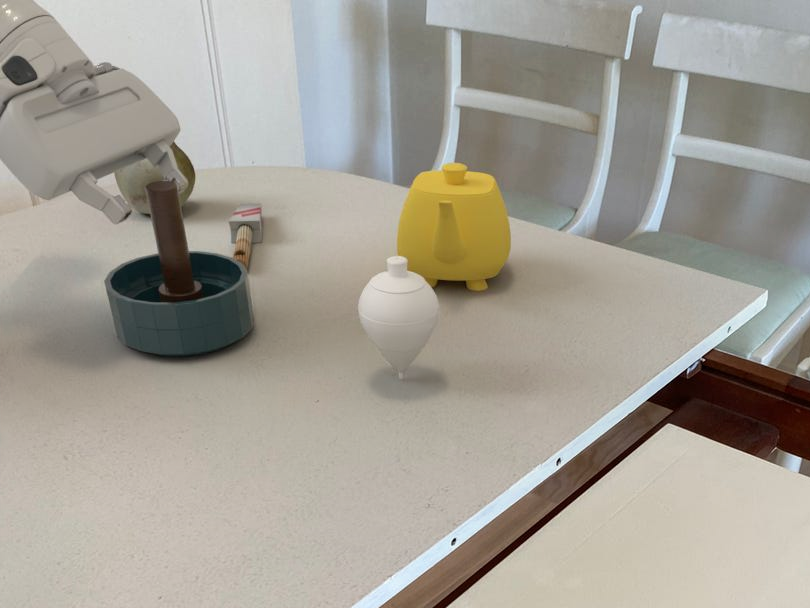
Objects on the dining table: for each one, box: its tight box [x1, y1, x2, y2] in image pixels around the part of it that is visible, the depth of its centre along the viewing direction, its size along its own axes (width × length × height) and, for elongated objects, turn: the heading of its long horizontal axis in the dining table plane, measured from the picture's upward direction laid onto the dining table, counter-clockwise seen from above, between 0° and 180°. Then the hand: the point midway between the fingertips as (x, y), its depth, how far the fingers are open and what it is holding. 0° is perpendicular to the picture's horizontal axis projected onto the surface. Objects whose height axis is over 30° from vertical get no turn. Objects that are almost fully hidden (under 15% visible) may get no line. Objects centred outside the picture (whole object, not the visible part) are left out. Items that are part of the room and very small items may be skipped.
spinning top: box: [357, 255, 440, 381], centre depth 93 cm, size 8×8×12 cm
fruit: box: [113, 140, 196, 215], centre depth 128 cm, size 10×9×12 cm
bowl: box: [103, 250, 255, 357], centre depth 102 cm, size 14×14×6 cm
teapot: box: [396, 162, 512, 292], centre depth 113 cm, size 13×20×12 cm
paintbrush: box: [228, 202, 263, 271], centre depth 123 cm, size 4×3×20 cm
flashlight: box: [145, 181, 204, 303], centre depth 99 cm, size 4×4×14 cm
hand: (154, 204), depth 95 cm, fingers open, 8 cm apart
